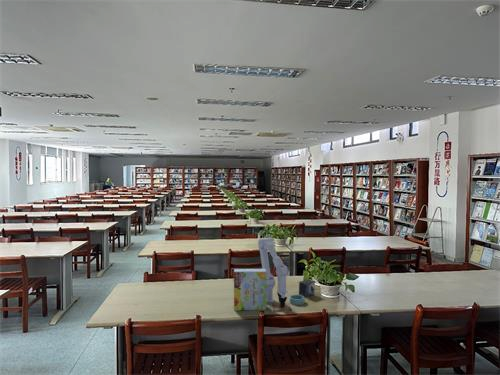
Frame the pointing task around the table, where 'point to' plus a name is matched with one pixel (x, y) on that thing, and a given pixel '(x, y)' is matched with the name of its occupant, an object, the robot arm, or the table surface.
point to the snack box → (249, 289)
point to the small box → (306, 288)
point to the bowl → (296, 299)
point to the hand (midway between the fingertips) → (281, 304)
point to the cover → (278, 308)
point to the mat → (282, 311)
